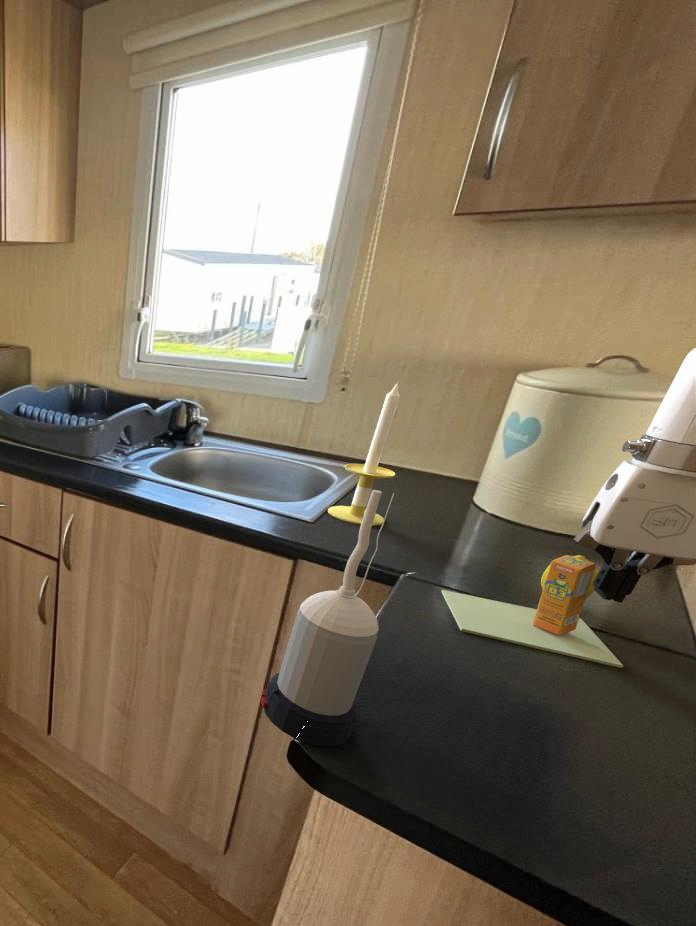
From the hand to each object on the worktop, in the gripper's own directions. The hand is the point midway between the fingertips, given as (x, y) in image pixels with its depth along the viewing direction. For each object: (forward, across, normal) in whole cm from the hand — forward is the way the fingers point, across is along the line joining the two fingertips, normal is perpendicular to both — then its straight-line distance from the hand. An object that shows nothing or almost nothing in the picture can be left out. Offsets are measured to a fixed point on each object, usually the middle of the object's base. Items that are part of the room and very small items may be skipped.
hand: (607, 595), depth 70 cm
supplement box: (+6, -3, 0) cm, 7 cm away
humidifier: (+7, -33, -35) cm, 49 cm away
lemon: (+7, +1, +11) cm, 13 cm away
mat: (+7, -6, 0) cm, 9 cm away
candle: (+7, -23, +36) cm, 43 cm away
